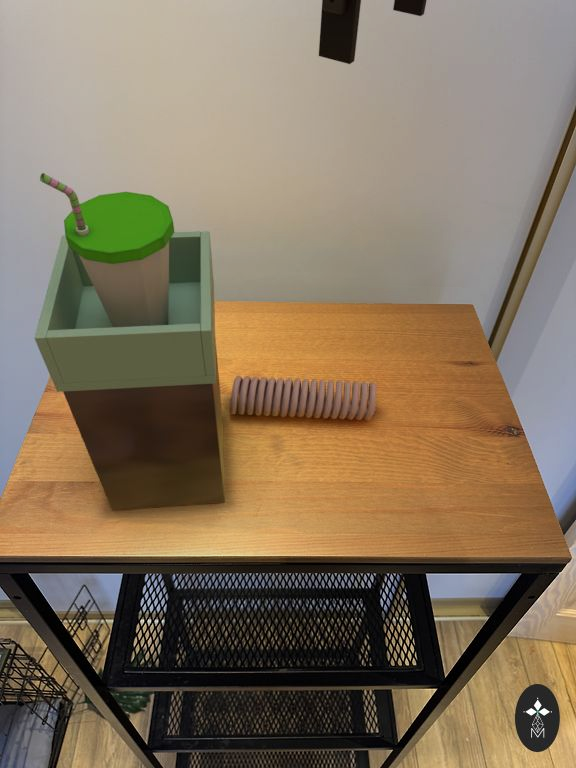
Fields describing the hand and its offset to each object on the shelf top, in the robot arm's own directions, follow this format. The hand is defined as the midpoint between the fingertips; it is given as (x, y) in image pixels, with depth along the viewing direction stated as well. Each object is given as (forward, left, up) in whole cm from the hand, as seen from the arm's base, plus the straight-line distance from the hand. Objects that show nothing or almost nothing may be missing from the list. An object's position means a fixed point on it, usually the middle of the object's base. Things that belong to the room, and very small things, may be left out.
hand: (375, 34), depth 48 cm
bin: (+21, +15, -19) cm, 32 cm away
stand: (+21, +15, -39) cm, 47 cm away
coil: (+5, +9, -39) cm, 40 cm away
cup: (+21, +15, -18) cm, 31 cm away
